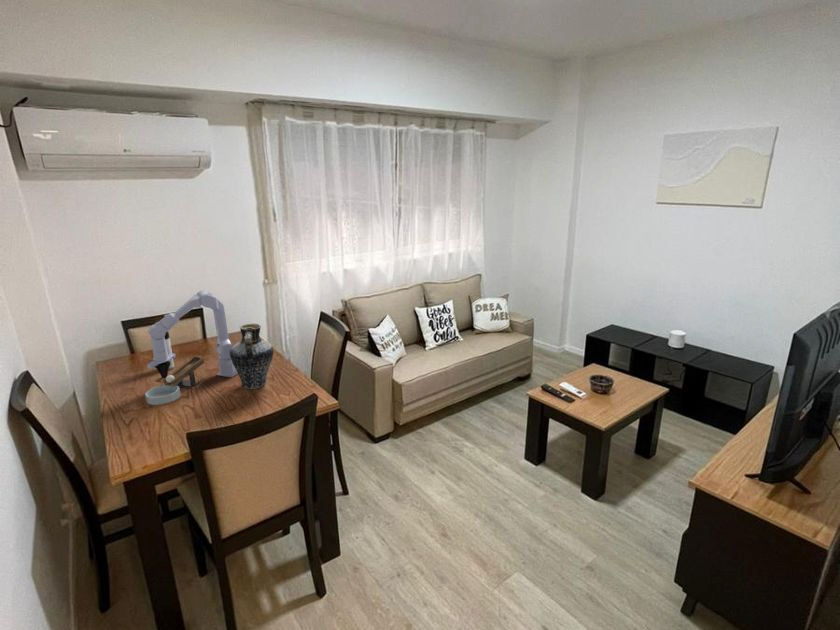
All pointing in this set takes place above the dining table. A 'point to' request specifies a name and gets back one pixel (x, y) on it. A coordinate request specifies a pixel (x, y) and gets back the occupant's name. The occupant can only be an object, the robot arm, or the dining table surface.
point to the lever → (182, 371)
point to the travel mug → (169, 350)
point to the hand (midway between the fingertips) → (164, 377)
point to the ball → (170, 378)
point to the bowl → (162, 394)
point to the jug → (251, 357)
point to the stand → (188, 383)
